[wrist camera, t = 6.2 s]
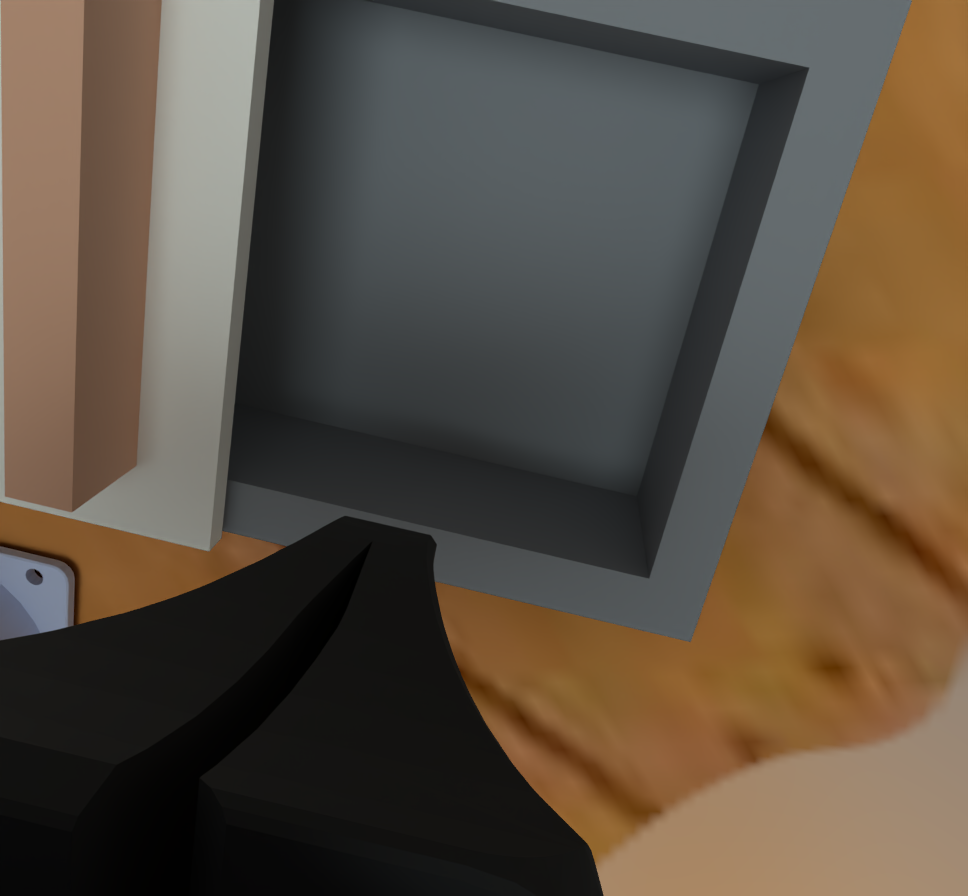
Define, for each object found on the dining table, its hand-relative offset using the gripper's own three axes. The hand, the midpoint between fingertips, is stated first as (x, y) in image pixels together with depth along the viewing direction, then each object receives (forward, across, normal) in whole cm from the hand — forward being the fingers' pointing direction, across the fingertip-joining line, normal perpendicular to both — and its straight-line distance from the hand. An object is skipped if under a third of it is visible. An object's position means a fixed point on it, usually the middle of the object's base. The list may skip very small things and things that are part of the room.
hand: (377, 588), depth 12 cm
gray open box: (+10, +3, -3) cm, 11 cm away
